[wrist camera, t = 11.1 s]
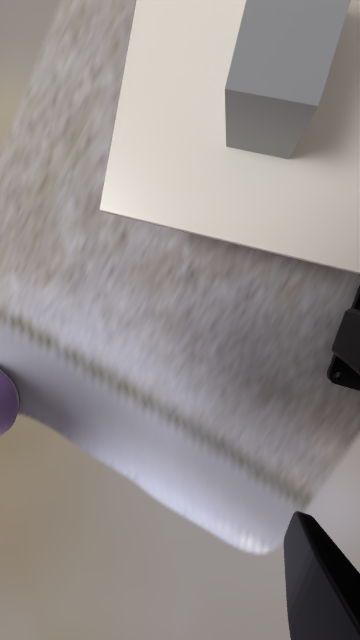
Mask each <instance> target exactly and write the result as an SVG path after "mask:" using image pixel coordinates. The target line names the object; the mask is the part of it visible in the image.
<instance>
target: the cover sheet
mask: <svg viewBox="0 0 360 640" xmlns="http://www.w3.org/2000/svg"><path fill="white" fill-rule="evenodd" d="M100 210H102V211H104V212H106V213H108V214H112V215H116V216H121V217H125V218H129V219H133V220H137V221H141V222H145V223H149V224H154V225H158V226H162V227H166V228H170V229H174V230H178V231H182V232H187V233H191V234H195V235H199V236H203V237H207V238H211V239H215V240H219V241H224V242H228V243H232V244H236V245H240V246H244V247H248V248H252V249H257V250H261V251H265V252H269V253H273V254H277V255H281V256H285V257H290V258H294V259H298V260H302V261H306V262H310V263H314V264H318V265H322V266H327V267H331V268H335V269H339V270H343V271H347V272H351V273H355V274H360V0H137V2H136V8H135V13H134V19H133V25H132V30H131V36H130V42H129V47H128V53H127V59H126V64H125V70H124V76H123V81H122V87H121V92H120V98H119V104H118V109H117V115H116V121H115V126H114V132H113V138H112V143H111V149H110V155H109V160H108V166H107V172H106V177H105V183H104V188H103V194H102V200H101V205H100Z"/></svg>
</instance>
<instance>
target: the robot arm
mask: <svg viewBox="0 0 360 640" xmlns="http://www.w3.org/2000/svg"><path fill="white" fill-rule="evenodd" d="M332 350H333V352H334V355H333V358H332V361H331V363H330V366H329V369H328V371H327V377H328V378H329V379H330V381H331V382H332V383H334V384H338V385H341V386H345V387H348V388H352V389H355V390H359V391H360V286H359V289H358V291H357V294H356V297H355V299H354V302H353V305H352V307H351V308H350V309H348V310H346V312H345V314H344V317H343V319H342V322H341V325H340V328H339V330H338V333H337V336H336V338H335V341H334V344H333V346H332ZM337 372H340V376H339V377H337V378H334V377H333V375H334V374H335V373H337ZM284 558H285V579H286V597H287V612H288V622H289V630H290V637H291V640H360V573H359V572H358V571H357V570H356V568H355V567H354V566H353V565H352V564H351V562H350V561H349V560H348V559H347V558H346V556H345V555H344V554H343V553H342V551H341V550H340V549H339V548H338V547H337V545H336V544H335V543H334V542H333V541H332V539H331V538H330V537H329V536H328V535H327V533H326V532H325V531H324V530H323V529H322V527H321V526H320V525H319V524H318V522H317V521H316V520H315V519H314V518H313V517H312V516H311V515H308V514H305V513H302V512H299V511H296V512H295V513H294V514H293V516H292V519H291V521H290V524H289V526H288V529H287V531H286V534H285V537H284Z"/></svg>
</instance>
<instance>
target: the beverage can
mask: <svg viewBox="0 0 360 640" xmlns="http://www.w3.org/2000/svg"><path fill="white" fill-rule="evenodd" d="M18 409H19V396H18V392H17V389H16V387H15V385H14V383H13V382H12V380H11V379H10V378H9V377H8V375H7V374H5V373H4V372H3V371H2V370H0V436H1V435H2V434H3V433H5V432H6V431H7V430H8V429H9V428H10V427H11V426H12V425H13V423H14V421H15V419H16V416H17V413H18Z"/></svg>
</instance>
